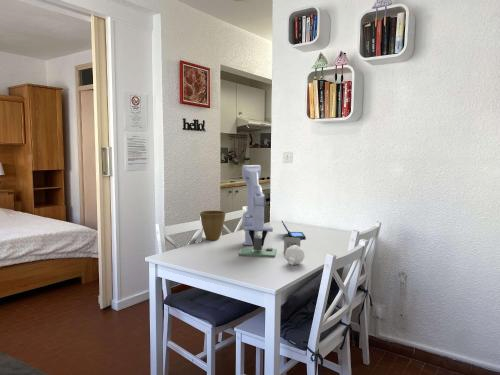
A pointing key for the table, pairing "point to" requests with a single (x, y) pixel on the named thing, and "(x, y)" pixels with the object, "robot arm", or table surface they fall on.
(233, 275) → the table surface
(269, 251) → the pcb
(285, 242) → the electrical switch
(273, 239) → the table surface
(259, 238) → the plug
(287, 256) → the perfume bottle
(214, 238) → the plant pot
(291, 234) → the handheld game console
